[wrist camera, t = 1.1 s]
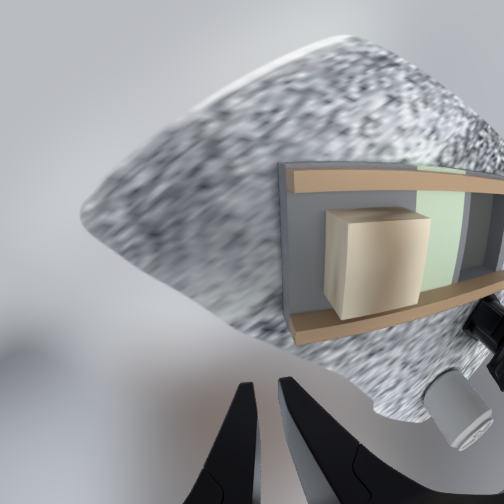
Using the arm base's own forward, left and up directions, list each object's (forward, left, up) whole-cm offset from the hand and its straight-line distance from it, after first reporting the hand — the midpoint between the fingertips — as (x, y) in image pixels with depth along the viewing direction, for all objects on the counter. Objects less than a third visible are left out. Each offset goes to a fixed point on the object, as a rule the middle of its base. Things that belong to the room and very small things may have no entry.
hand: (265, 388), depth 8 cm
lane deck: (-13, -9, -13) cm, 21 cm away
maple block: (-7, -5, -10) cm, 14 cm away
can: (-37, +4, -13) cm, 40 cm away
